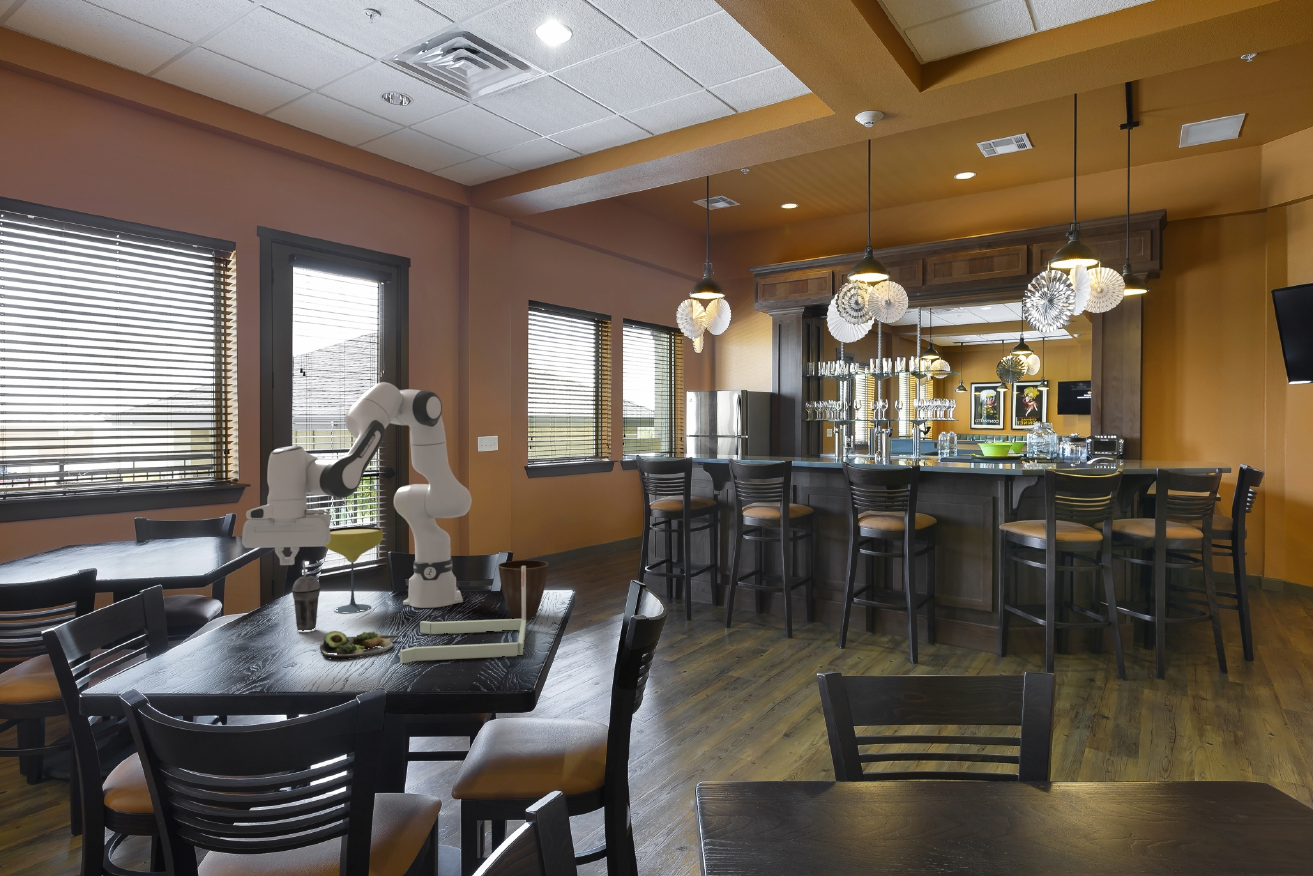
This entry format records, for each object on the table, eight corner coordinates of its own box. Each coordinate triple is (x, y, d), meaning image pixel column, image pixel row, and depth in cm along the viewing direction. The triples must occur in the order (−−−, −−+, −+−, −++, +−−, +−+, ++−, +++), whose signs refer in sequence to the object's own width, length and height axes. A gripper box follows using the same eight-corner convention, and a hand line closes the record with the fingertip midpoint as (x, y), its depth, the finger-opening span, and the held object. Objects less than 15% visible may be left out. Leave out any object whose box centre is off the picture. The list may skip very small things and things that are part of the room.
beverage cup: (326, 627, 202) (325, 558, 202) (311, 634, 195) (310, 562, 195) (302, 627, 203) (301, 557, 203) (286, 634, 195) (285, 562, 195)
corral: (420, 631, 198) (420, 567, 198) (526, 627, 202) (526, 564, 202) (399, 664, 170) (399, 589, 170) (522, 658, 174) (522, 585, 174)
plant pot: (509, 609, 222) (509, 559, 222) (555, 611, 220) (554, 560, 220) (490, 622, 207) (490, 568, 207) (538, 624, 205) (538, 569, 205)
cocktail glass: (325, 604, 229) (325, 528, 229) (385, 600, 235) (384, 525, 235) (316, 618, 212) (316, 535, 212) (381, 613, 217) (380, 532, 217)
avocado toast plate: (392, 635, 196) (392, 618, 196) (408, 651, 181) (408, 633, 181) (315, 647, 185) (315, 629, 185) (326, 665, 170) (326, 646, 170)
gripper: (334, 508, 184) (334, 561, 184) (249, 509, 181) (249, 563, 181) (326, 510, 177) (326, 565, 177) (239, 512, 174) (239, 568, 174)
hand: (287, 564), depth 179 cm, fingers closed
